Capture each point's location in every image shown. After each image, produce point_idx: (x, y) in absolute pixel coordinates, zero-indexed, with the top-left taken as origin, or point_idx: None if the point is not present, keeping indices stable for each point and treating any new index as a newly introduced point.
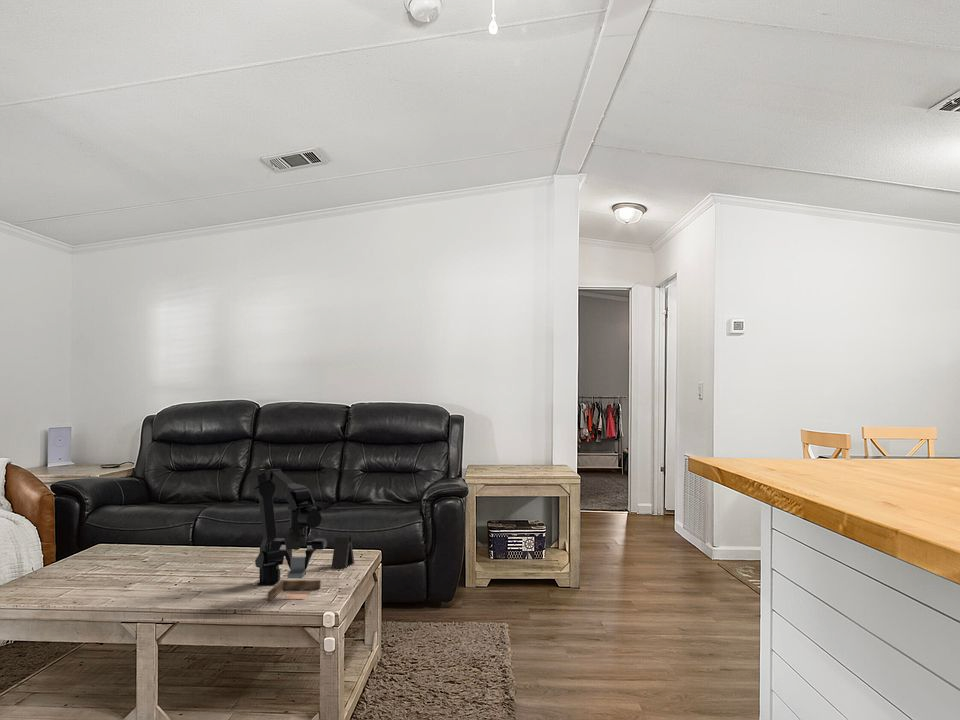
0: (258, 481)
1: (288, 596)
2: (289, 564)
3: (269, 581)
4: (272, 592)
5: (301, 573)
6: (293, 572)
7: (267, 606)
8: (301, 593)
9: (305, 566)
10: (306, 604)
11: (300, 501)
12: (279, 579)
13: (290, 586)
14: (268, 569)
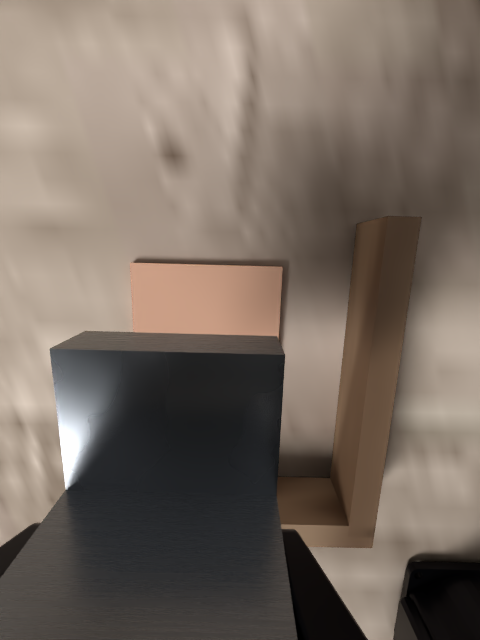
0: None
1: (257, 317)
2: (313, 599)
3: (455, 588)
4: (381, 242)
5: (61, 362)
6: (207, 418)
7: (361, 97)
8: None
9: (11, 556)
10: (72, 144)
11: None
12: (398, 625)
13: (291, 492)
14: None
